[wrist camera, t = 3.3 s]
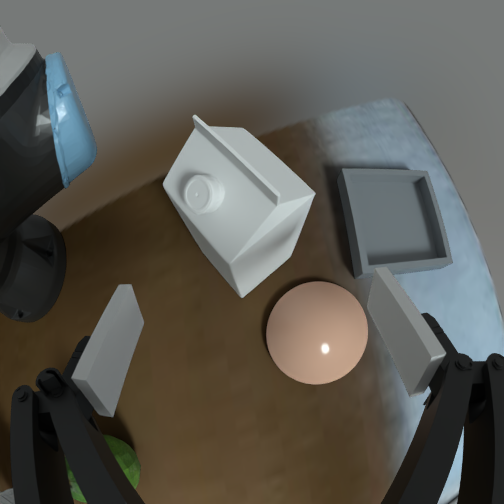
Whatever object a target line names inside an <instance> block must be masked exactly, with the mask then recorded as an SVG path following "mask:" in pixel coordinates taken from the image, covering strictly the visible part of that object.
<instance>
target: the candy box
mask: <svg viewBox="0 0 504 504" xmlns="http://www.w3.org/2000/svg"><path fill="white" fill-rule="evenodd" d="M0 504H15V500H14V492H13V488H11V489H8V490H5V491H3V492H1V493H0Z"/></svg>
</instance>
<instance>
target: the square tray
mask: <svg viewBox="0 0 504 504" xmlns="http://www.w3.org/2000/svg"><path fill="white" fill-rule="evenodd" d="M337 184H338V188H339V193H340V198H341V203H342V207H343V213H344V218H345V223H346V228H347V234H348V240H349V245H350V251H351V258H352V264H353V271H354V278H355V279H360V278H369V277H373V273H374V268H380V267H387V268H388V269H389V271H390V272H391V273H392V275H395V274H404V273H412V272H420V271H427V270H435V269H441V268H444V267H446V266H448V265H450V264H452V263H453V261H452V256H451V252H450V247H449V243H448V239H447V235H446V231H445V227H444V223H443V219H442V216H441V212H440V209H439V205H438V202H437V199H436V195H435V192H434V189H433V186H432V183H431V180H430V177H429V174H428V172H427V171H420V170H399V169H342V170H341V172H340V174H339V176H338V179H337Z"/></svg>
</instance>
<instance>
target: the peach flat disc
mask: <svg viewBox="0 0 504 504" xmlns="http://www.w3.org/2000/svg"><path fill="white" fill-rule="evenodd" d="M367 337H368V326H367V320H366V316H365V313H364V311H363V309H362V307H361V305H360V304H359V302H358V301H357V299H356V298H355V297H354V296H353V295H352V294H351V293H349V292H348V291H347V290H345V289H344V288H342V287H340V286H338V285H336V284H332V283H328V282H318V281H316V282H309V283H304V284H302V285H299V286H297V287H295V288H293V289H291V290H290V291H288V292H287V293H286V294H285V295H283V296H282V297H281V298H280V300H279V301H278V302H277V303H276V305H275V306H274V308H273V310H272V312H271V314H270V316H269V319H268V323H267V329H266V339H267V346H268V349H269V352H270V355H271V357H272V359H273V360H274V362H275V363H276V365H277V366H278V367H279V368H280V369H281V370H282V371H283V372H284V373H285V374H286V375H288V376H289V377H291V378H293V379H294V380H297V381H299V382H303V383H307V384H324V383H329V382H332V381H335V380H337V379H339V378H341V377H343V376H344V375H346V374H347V373H348V372H349V371H351V370H352V369H353V368H354V367H355V365H356V364H357V363H358V361H359V360H360V358H361V356H362V355H363V352H364V350H365V347H366V343H367Z"/></svg>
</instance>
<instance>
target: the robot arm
mask: <svg viewBox="0 0 504 504" xmlns="http://www.w3.org/2000/svg"><path fill="white" fill-rule="evenodd" d="M96 153H97V146H96V142H95V139H94V136H93V133H92V130H91V127H90V125H89V122H88V120H87V117H86V114H85V112H84V109H83V106H82V104H81V101H80V99H79V96H78V93H77V91H76V88H75V85H74V83H73V80H72V78H71V75H70V73H69V70H68V68H67V65H66V63H65V61H64V59H63V56H62V55H61V53H59V52H56V53H54V54H49V55H47V56H46V58H45V59H43V58H42V57H41V55H40V54H39V52H38V51H37V49H36V47H35V46H34V45H33V44H13V43H11V42H10V41H9V40H8V38H7V37H6V35H5V33H4V32H3V30H2V28H1V26H0V312H1V313H2V314H4V315H5V316H6V317H8V318H10V319H12V320H15V321H21V322H34V321H36V320H39V319H40V318H42V317H43V316H44V315H45V314H47V312H48V311H49V310H50V309H51V308H52V306H53V305H54V303H55V302H56V300H57V298H58V296H59V293H60V291H61V288H62V285H63V281H64V276H65V270H66V250H65V245H64V241H63V238H62V235H61V233H60V232H59V230H58V229H57V228H56V226H54V225H53V224H52V223H51V222H49V221H48V220H46V219H45V218H43V217H41V216H38V215H33V213H34V212H35V211H36V210H38V209H39V208H40V207H41V206H42V205H43V204H45V203H46V202H47V201H48V200H50V199H51V198H52V197H53V196H55V195H56V194H57V193H58V192H60V191H61V190H62V189H63V188H67V187H68V186H69V185H70V182H71V181H72V180H74V179H75V178H76V177H77V176H79V175H80V174H81V173H82V172H84V171H85V170H86V169H87V168H88V167H90V166H91V164H92V163H93V162H94V159H95V157H96ZM367 309H368V311H369V313H370V315H371V317H372V319H373V321H374V323H375V325H376V327H377V329H378V331H379V333H380V335H381V337H382V339H383V341H384V343H385V345H386V347H387V349H388V351H389V353H390V355H391V357H392V359H393V361H394V363H395V366H396V368H397V370H398V372H399V374H400V376H401V379H402V381H403V383H404V385H405V387H406V390H407V392H408V394H409V396H410V397H413V396H417V395H420V394H423V393H424V392H425V390H426V389H427V387H428V386H429V388H430V390H431V393H430V394H429V396H428V397H427V399H426V401H425V402H424V404H423V405H425V404H426V406H425V409H424V412H423V414H422V417H421V420H420V422H419V425H418V428H417V430H416V433H415V435H414V438H413V440H412V442H411V445H410V447H409V449H408V452H407V454H406V456H405V458H404V460H403V463H402V465H401V467H400V469H399V471H398V473H397V475H396V477H395V479H394V481H393V483H392V484H391V486H390V488H389V490H388V492H387V494H386V495H385V497H384V499H383V501H382V502H381V504H437V503H438V500H439V498H440V496H441V493H442V491H443V488H444V486H445V483H446V481H447V478H448V475H449V473H450V470H451V467H452V464H453V461H454V458H455V455H456V452H457V448H458V445H459V441H460V438H461V434H462V430H463V426H464V445H463V461H462V472H461V481H460V489H459V496H458V502H457V504H504V357H503V356H502V355H500V354H497V353H493V354H491V355H489V357H488V358H487V360H486V361H472V359H471V358H470V357H469V356H467V355H465V354H461V353H458V352H457V350H456V349H455V347H454V346H453V344H452V343H451V341H450V340H449V338H448V337H447V335H446V334H445V333H444V331H443V329H442V328H441V327H440V325H439V324H438V322H437V321H436V319H435V318H434V317H432V316H431V315H430V314H428V313H423V314H420V312H419V311H418V309H417V308H416V306H415V305H414V303H413V302H412V301H411V299H410V298H409V296H408V295H407V294H406V292H405V291H404V289H403V288H402V287H401V285H400V284H399V283H398V281H397V280H396V279H395V277H394V276H393V275H392V273H391V272H390V271H389V269H388V268H387V267H380V268H374V273H373V279H372V284H371V289H370V294H369V299H368V304H367ZM143 325H144V321H143V318H142V315H141V312H140V309H139V306H138V304H137V301H136V298H135V295H134V291H133V288H132V285H131V284H125V285H119V286H118V287H117V289H116V291H115V293H114V294H113V296H112V298H111V300H110V302H109V303H108V305H107V307H106V309H105V311H104V313H103V315H102V316H101V318H100V320H99V322H98V324H97V326H96V328H95V330H94V332H93V334H92V336H85V337H84V338H83V339H82V340H81V341H80V342H79V343H78V345H77V347H76V349H75V352H73V354H72V356H71V358H70V360H69V362H68V365H67V367H66V369H65V371H64V373H63V375H61V374H60V372H59V371H58V370H57V369H55V368H47V369H45V370H43V371H42V372H40V374H39V375H38V376H37V379H36V386H37V387H38V388H39V389H40V391H38V392H34V391H33V390H32V389H31V387H30V386H27V385H22V386H20V387H18V388H17V389H16V390H15V392H14V393H13V396H12V405H11V426H10V452H11V472H12V484H13V492H14V500H15V504H74V502H73V497H72V493H71V489H70V484H69V479H68V474H67V468H66V462H65V457H66V459H67V462H68V464H69V466H70V469H71V471H72V473H73V475H74V478H75V480H76V482H77V484H78V486H79V488H80V490H81V492H82V494H83V496H84V498H85V500H86V502H87V504H145V503H144V502H143V500H142V499H141V497H140V496H139V495H138V493H137V492H136V490H135V489H134V487H133V486H132V484H131V483H130V481H129V480H128V478H127V476H126V475H125V473H124V472H123V470H122V468H121V467H120V465H119V463H118V462H117V460H116V458H115V456H114V455H113V453H112V451H111V449H110V448H109V446H108V444H107V442H106V440H105V438H104V436H103V434H102V432H101V431H100V429H99V427H98V424H97V422H96V420H95V418H94V417H93V416H92V412H93V409H95V410H96V412H97V413H98V414H99V415H103V416H109V417H113V416H114V413H115V409H116V406H117V402H118V399H119V396H120V393H121V389H122V386H123V383H124V380H125V377H126V374H127V371H128V368H129V365H130V362H131V359H132V356H133V353H134V350H135V347H136V344H137V341H138V339H139V336H140V333H141V330H142V327H143ZM64 454H65V456H64Z"/></svg>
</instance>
